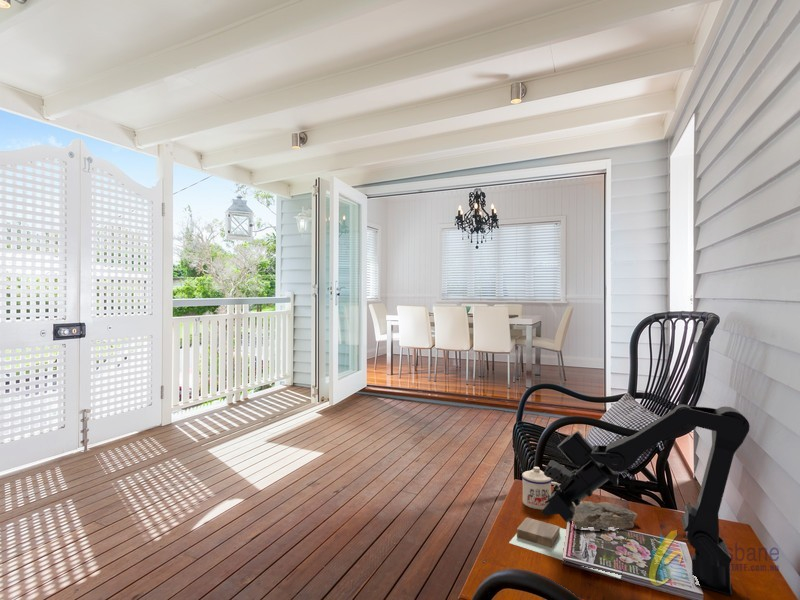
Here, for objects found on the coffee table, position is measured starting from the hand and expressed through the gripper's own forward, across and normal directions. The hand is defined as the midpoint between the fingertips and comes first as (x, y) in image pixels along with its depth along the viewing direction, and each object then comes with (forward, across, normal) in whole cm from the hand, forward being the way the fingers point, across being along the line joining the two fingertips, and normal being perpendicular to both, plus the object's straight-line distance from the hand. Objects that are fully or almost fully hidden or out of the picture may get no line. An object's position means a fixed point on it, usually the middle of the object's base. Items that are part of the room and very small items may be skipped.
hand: (542, 513), depth 113 cm
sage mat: (0, 0, +10) cm, 10 cm away
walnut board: (+2, 0, +6) cm, 6 cm away
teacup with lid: (+8, -22, +2) cm, 24 cm away
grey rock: (-4, -19, +14) cm, 24 cm away
